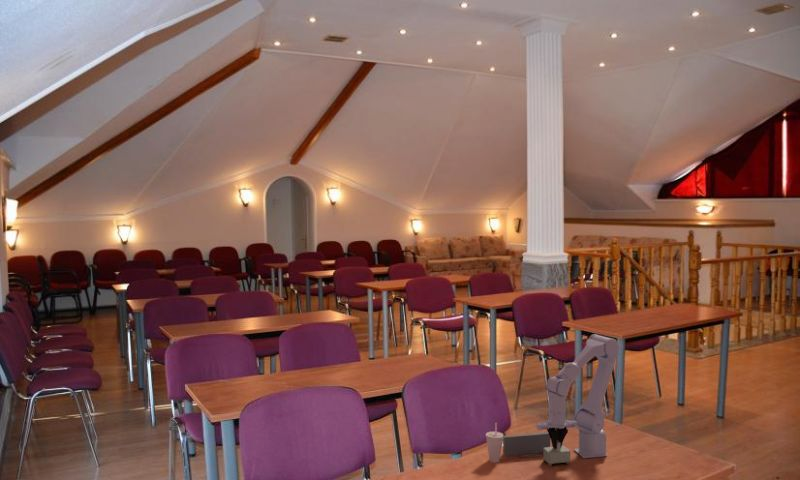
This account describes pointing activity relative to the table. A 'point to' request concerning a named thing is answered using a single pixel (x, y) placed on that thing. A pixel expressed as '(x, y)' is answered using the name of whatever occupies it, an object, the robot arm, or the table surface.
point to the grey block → (556, 455)
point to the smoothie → (494, 445)
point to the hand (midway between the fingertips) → (556, 447)
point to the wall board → (525, 444)
